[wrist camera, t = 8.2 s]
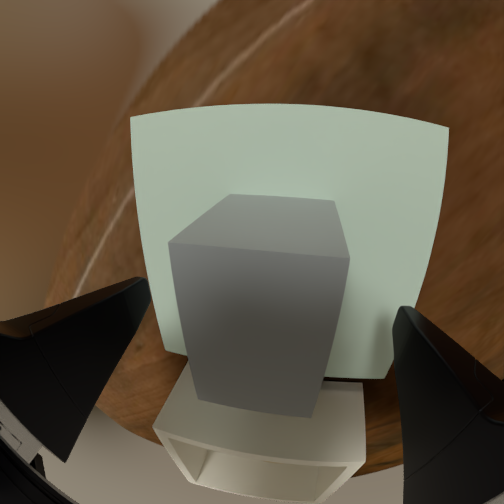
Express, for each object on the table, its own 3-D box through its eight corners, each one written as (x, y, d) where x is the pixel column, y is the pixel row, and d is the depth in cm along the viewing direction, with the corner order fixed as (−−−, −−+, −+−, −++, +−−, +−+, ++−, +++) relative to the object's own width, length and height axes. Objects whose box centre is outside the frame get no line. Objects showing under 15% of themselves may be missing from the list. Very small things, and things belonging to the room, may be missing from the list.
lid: (429, 127, 9) (532, 135, 3) (380, 354, 15) (393, 454, 8) (153, 117, 12) (39, 124, 5) (178, 330, 17) (126, 411, 11)
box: (362, 382, 15) (365, 461, 10) (326, 452, 20) (320, 503, 15) (188, 360, 18) (152, 426, 12) (208, 435, 23) (189, 482, 17)
